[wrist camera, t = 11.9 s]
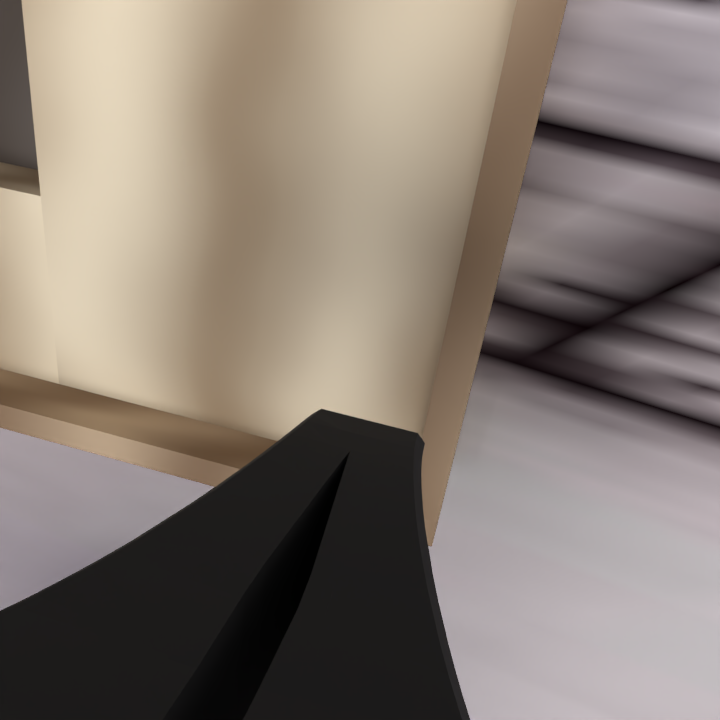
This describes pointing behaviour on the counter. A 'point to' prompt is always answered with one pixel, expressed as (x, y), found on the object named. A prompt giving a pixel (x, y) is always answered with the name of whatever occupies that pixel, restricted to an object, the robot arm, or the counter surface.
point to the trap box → (256, 217)
